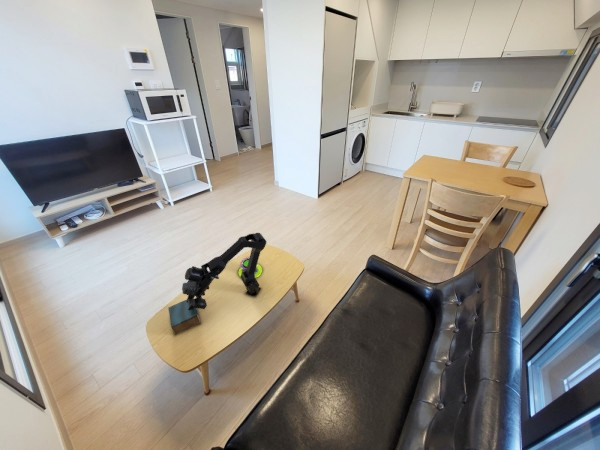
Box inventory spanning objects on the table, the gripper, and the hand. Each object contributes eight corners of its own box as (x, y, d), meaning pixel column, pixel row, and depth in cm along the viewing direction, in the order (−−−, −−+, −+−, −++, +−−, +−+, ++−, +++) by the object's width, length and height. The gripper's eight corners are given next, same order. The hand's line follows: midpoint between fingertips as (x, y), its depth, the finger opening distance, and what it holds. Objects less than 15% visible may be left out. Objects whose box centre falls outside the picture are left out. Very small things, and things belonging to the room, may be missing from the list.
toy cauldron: (253, 259, 162) (251, 247, 156) (266, 271, 153) (265, 258, 147) (234, 270, 154) (231, 258, 148) (246, 283, 145) (244, 270, 139)
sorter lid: (193, 297, 127) (191, 292, 125) (198, 314, 119) (195, 309, 116) (168, 308, 123) (165, 303, 120) (171, 327, 114) (168, 322, 111)
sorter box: (195, 306, 131) (193, 299, 128) (200, 323, 122) (197, 316, 119) (172, 315, 126) (168, 308, 123) (175, 334, 117) (171, 327, 114)
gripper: (186, 267, 120) (170, 290, 122) (192, 292, 106) (174, 318, 108) (206, 272, 127) (190, 294, 129) (214, 296, 114) (197, 320, 116)
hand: (188, 305), depth 121 cm, fingers closed on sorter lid, 5 cm apart
